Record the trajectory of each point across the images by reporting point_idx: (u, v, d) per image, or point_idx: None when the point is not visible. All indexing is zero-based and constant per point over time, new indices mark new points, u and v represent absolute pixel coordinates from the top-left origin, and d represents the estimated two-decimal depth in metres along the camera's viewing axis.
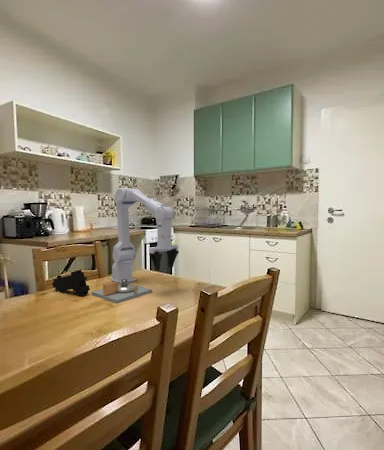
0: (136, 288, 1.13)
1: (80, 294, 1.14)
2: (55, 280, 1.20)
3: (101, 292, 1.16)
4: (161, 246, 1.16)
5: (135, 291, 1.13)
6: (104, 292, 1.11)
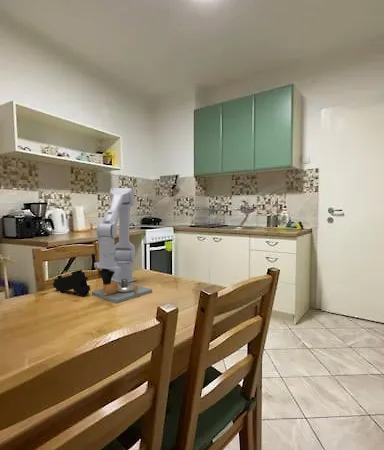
0: (136, 288, 1.13)
1: (81, 294, 1.13)
2: (56, 280, 1.19)
3: (101, 292, 1.16)
4: None
5: (135, 291, 1.13)
6: (104, 292, 1.11)
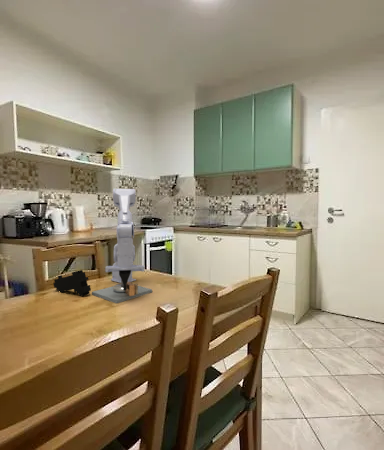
0: (136, 288, 1.13)
1: (81, 294, 1.13)
2: (56, 280, 1.19)
3: (101, 292, 1.16)
4: (118, 265, 1.09)
5: (135, 291, 1.13)
6: (131, 293, 1.11)
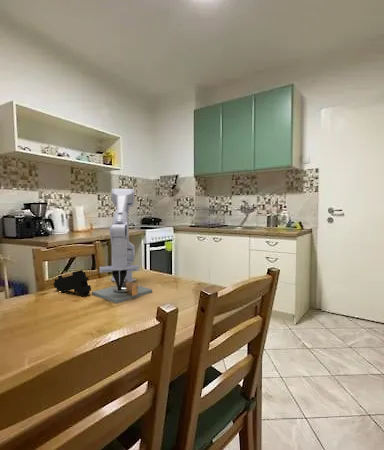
0: None
1: (82, 294, 1.13)
2: (56, 280, 1.19)
3: (101, 292, 1.16)
4: (112, 266, 1.09)
5: None
6: (134, 293, 1.11)
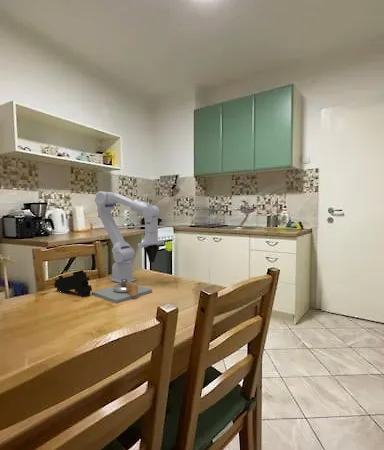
0: None
1: (82, 294, 1.13)
2: (57, 280, 1.19)
3: (101, 292, 1.16)
4: (149, 241, 1.28)
5: None
6: (134, 293, 1.11)
